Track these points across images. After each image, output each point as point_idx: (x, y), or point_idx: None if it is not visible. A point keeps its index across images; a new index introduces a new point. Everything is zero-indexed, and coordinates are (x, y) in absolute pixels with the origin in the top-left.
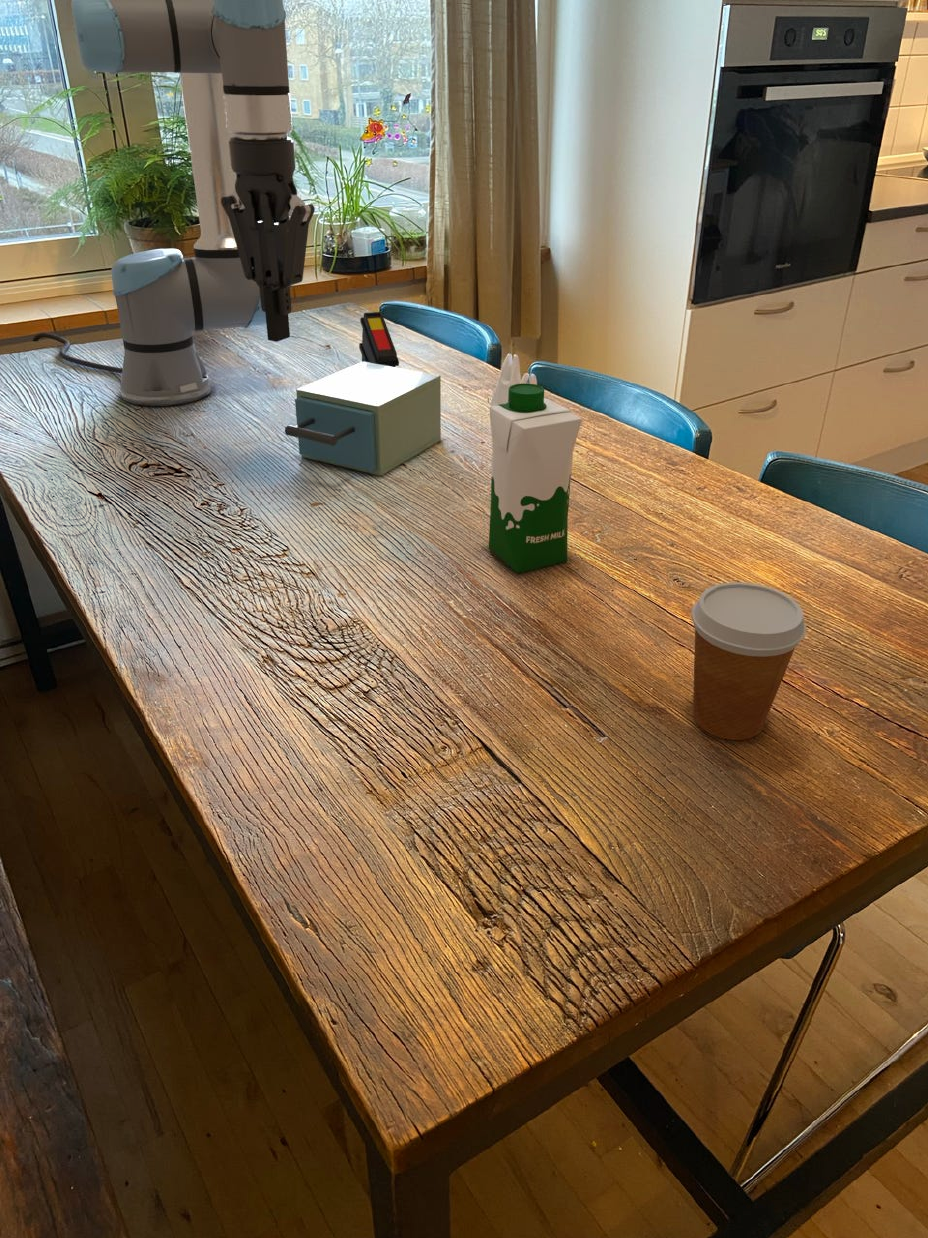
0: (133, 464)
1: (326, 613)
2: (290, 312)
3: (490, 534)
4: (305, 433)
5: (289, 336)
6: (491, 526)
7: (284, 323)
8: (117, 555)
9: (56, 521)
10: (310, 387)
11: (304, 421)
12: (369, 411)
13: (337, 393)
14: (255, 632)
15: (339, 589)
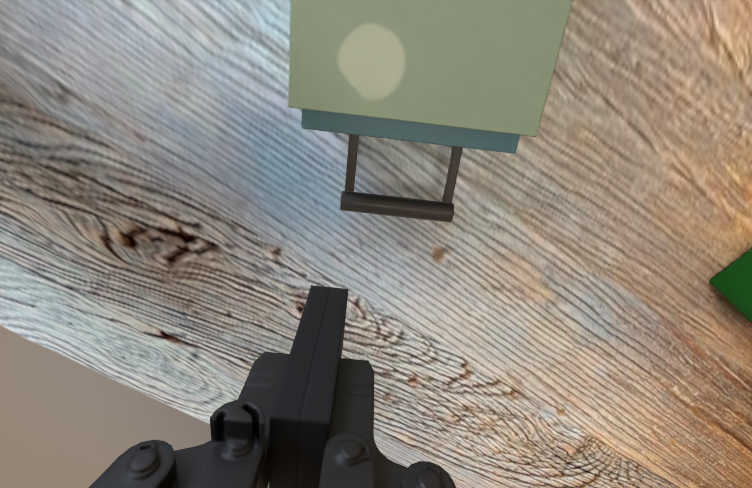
0: (108, 243)
1: (558, 438)
2: (369, 364)
3: (732, 303)
4: (390, 215)
5: (347, 291)
6: (747, 317)
7: (342, 337)
8: None
9: (188, 398)
10: (311, 74)
11: (349, 154)
12: (506, 134)
13: (400, 89)
14: (510, 474)
15: (555, 405)
